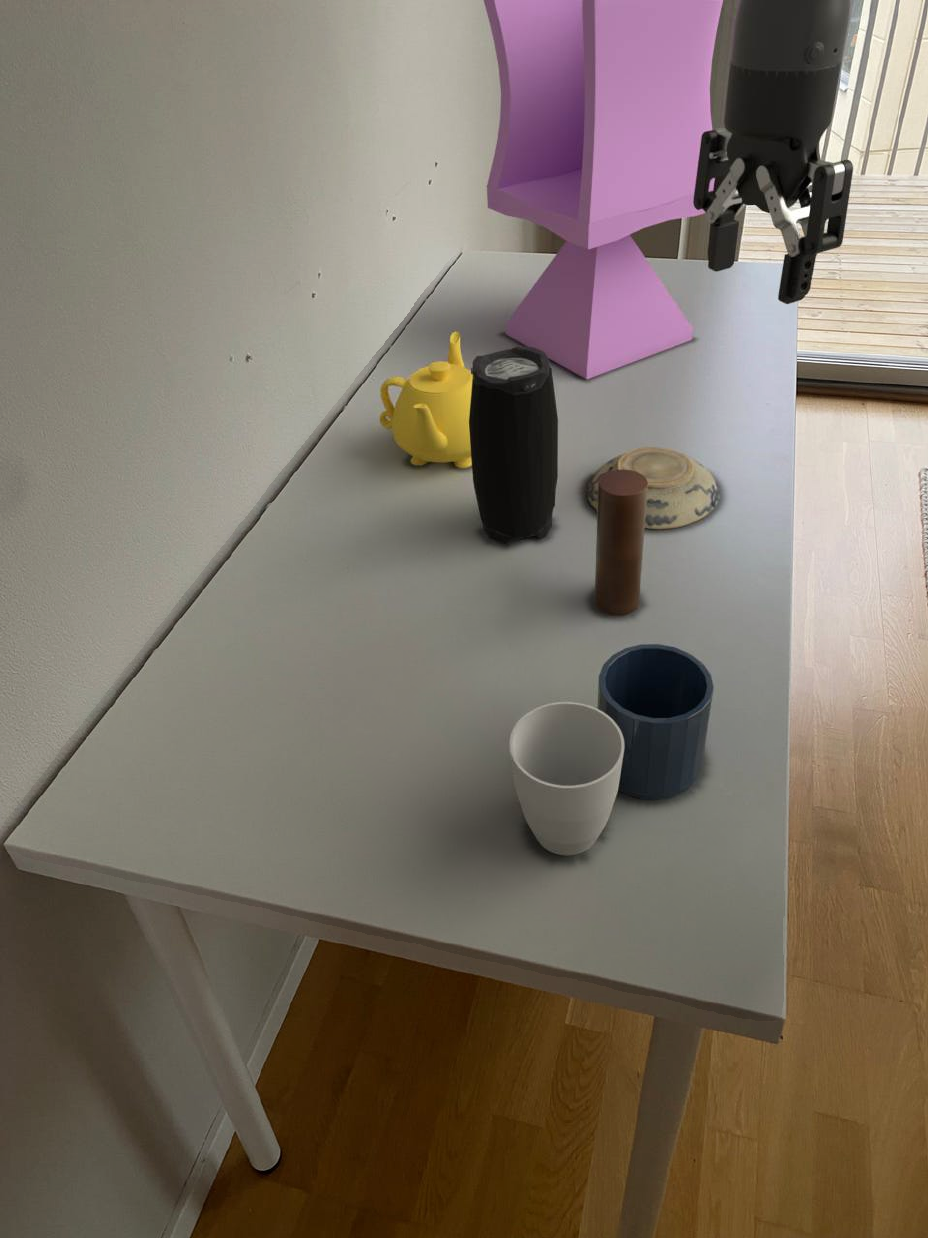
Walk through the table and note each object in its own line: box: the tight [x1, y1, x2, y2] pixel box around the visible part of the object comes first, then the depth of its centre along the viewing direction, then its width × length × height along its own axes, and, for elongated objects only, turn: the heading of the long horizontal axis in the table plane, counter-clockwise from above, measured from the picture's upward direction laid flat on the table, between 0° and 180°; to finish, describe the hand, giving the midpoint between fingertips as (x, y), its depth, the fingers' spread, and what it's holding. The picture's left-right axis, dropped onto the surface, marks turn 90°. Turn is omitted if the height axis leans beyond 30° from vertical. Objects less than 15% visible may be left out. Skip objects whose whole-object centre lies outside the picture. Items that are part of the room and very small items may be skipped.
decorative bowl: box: [585, 446, 720, 530], centre depth 107 cm, size 15×4×15 cm
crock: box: [597, 643, 715, 801], centre depth 75 cm, size 9×9×9 cm
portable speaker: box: [469, 345, 559, 545], centre depth 98 cm, size 9×9×20 cm
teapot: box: [379, 331, 473, 469], centre depth 114 cm, size 20×15×12 cm
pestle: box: [593, 469, 648, 617], centre depth 89 cm, size 4×4×14 cm
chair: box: [483, 0, 724, 380], centre depth 126 cm, size 22×22×45 cm
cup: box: [509, 701, 624, 856], centre depth 70 cm, size 8×8×10 cm
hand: (754, 283), depth 76 cm, fingers open, 8 cm apart
